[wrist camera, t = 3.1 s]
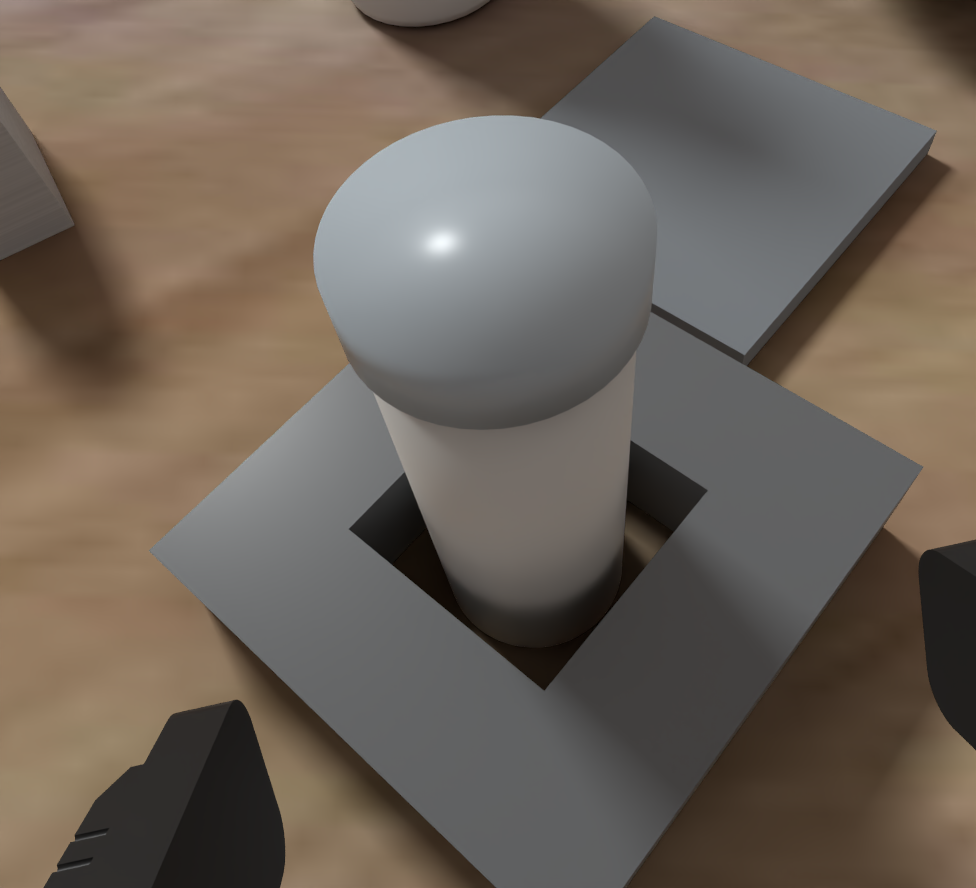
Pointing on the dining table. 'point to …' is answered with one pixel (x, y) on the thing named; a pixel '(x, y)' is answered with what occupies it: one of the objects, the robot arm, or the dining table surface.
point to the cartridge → (502, 352)
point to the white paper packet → (25, 187)
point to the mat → (740, 175)
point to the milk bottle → (417, 10)
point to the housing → (605, 653)
